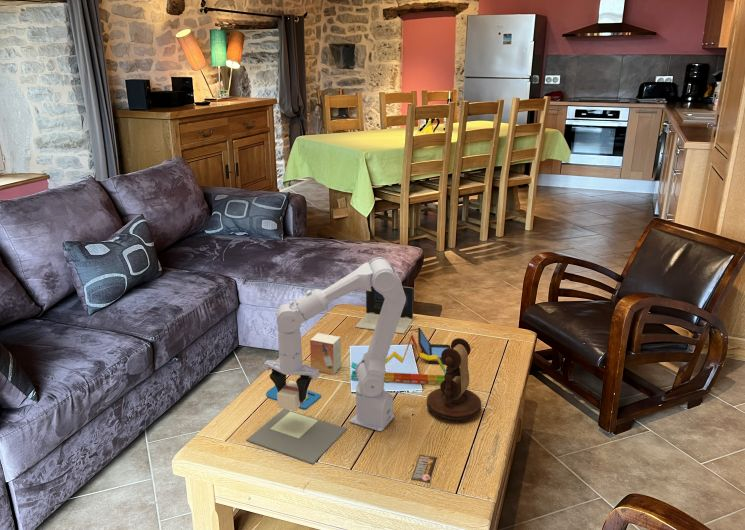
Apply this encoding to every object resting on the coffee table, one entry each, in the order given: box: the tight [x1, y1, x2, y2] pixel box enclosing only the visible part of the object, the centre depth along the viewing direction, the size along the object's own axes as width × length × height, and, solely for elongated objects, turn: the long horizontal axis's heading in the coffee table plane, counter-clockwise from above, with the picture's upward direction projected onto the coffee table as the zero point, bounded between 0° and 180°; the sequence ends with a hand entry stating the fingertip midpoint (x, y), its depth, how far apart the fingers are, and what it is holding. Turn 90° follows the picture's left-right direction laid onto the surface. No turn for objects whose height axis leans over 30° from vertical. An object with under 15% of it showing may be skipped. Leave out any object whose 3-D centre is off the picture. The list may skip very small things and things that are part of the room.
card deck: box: [277, 380, 308, 412], centre depth 157 cm, size 7×5×4 cm
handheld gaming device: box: [265, 385, 322, 410], centre depth 174 cm, size 8×1×15 cm
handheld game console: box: [417, 327, 451, 365], centre depth 196 cm, size 12×11×7 cm
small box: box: [309, 332, 342, 375], centre depth 187 cm, size 8×6×10 cm
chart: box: [350, 334, 447, 386], centre depth 179 cm, size 30×3×15 cm, turn 83°
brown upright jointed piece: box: [426, 337, 482, 424], centre depth 164 cm, size 15×15×20 cm
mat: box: [245, 408, 348, 465], centre depth 156 cm, size 20×16×1 cm
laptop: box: [355, 286, 414, 335], centre depth 217 cm, size 18×12×13 cm
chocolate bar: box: [410, 454, 438, 484], centre depth 143 cm, size 11×5×1 cm, turn 164°
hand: (292, 398), depth 157 cm, fingers closed on card deck, 5 cm apart
